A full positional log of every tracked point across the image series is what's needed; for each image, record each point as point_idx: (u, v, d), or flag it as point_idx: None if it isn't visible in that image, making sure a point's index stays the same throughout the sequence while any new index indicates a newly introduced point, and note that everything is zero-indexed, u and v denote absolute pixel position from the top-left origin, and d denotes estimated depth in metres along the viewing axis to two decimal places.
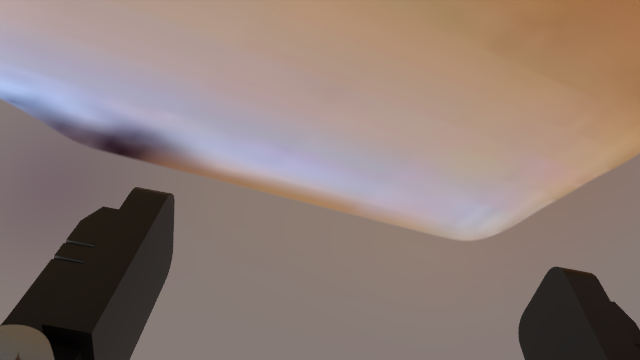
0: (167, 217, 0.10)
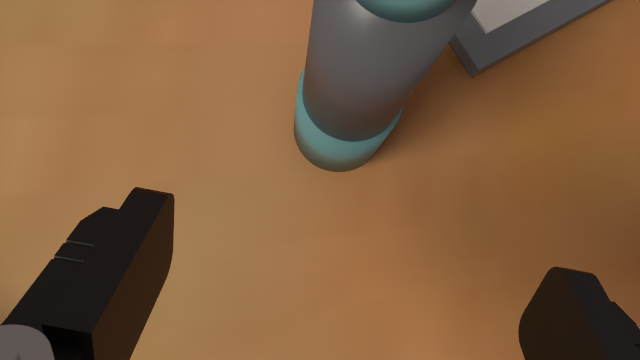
0: (167, 217, 0.10)
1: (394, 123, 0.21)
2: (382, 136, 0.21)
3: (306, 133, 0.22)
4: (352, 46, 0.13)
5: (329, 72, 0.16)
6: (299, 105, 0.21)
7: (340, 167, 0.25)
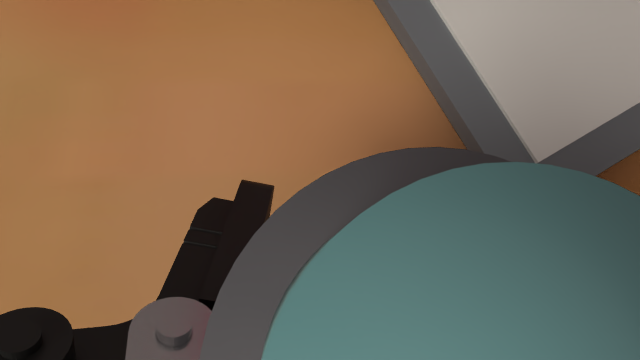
0: (269, 207, 0.11)
1: None
2: None
3: None
4: None
5: None
6: None
7: None
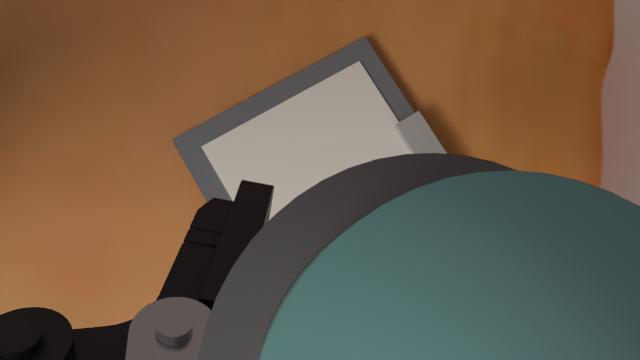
0: (269, 207, 0.11)
1: None
2: None
3: None
4: None
5: None
6: None
7: None
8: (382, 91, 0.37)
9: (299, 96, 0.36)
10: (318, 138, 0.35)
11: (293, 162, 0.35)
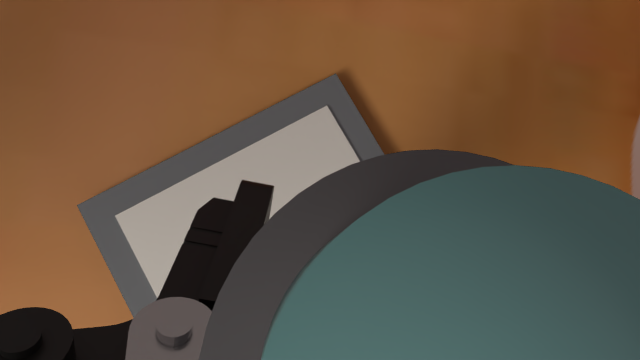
0: (269, 207, 0.11)
1: None
2: None
3: None
4: None
5: None
6: None
7: None
8: (355, 145, 0.29)
9: (247, 150, 0.28)
10: None
11: None
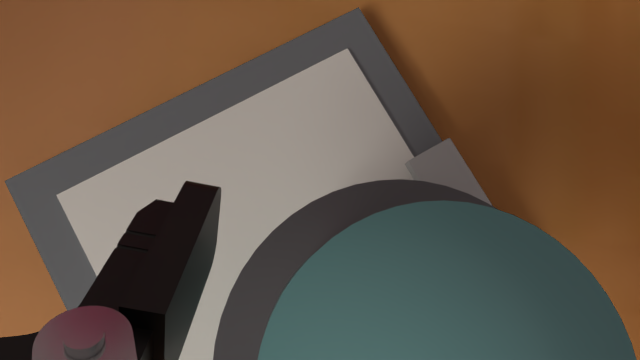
0: (216, 209, 0.10)
1: None
2: None
3: None
4: None
5: None
6: None
7: None
8: (386, 101, 0.21)
9: (240, 107, 0.20)
10: (270, 183, 0.20)
11: (223, 226, 0.19)
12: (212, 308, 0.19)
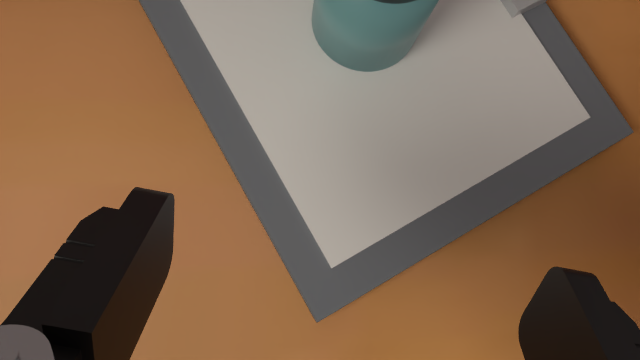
0: (167, 217, 0.10)
1: None
2: None
3: (331, 2, 0.18)
4: None
5: None
6: None
7: (370, 61, 0.20)
8: None
9: None
10: None
11: None
12: (274, 17, 0.21)
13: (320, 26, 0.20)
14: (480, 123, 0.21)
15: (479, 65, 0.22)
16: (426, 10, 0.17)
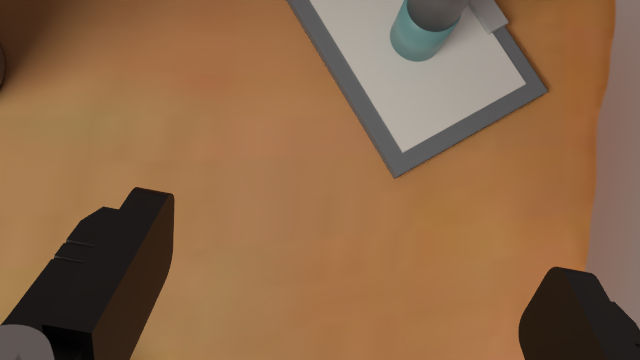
0: (167, 217, 0.10)
1: (456, 23, 0.39)
2: (450, 29, 0.39)
3: (406, 30, 0.40)
4: None
5: None
6: (405, 12, 0.39)
7: (419, 56, 0.43)
8: None
9: None
10: None
11: (374, 3, 0.45)
12: (372, 35, 0.44)
13: (396, 40, 0.43)
14: (472, 86, 0.44)
15: (471, 58, 0.44)
16: (447, 34, 0.40)
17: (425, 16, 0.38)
